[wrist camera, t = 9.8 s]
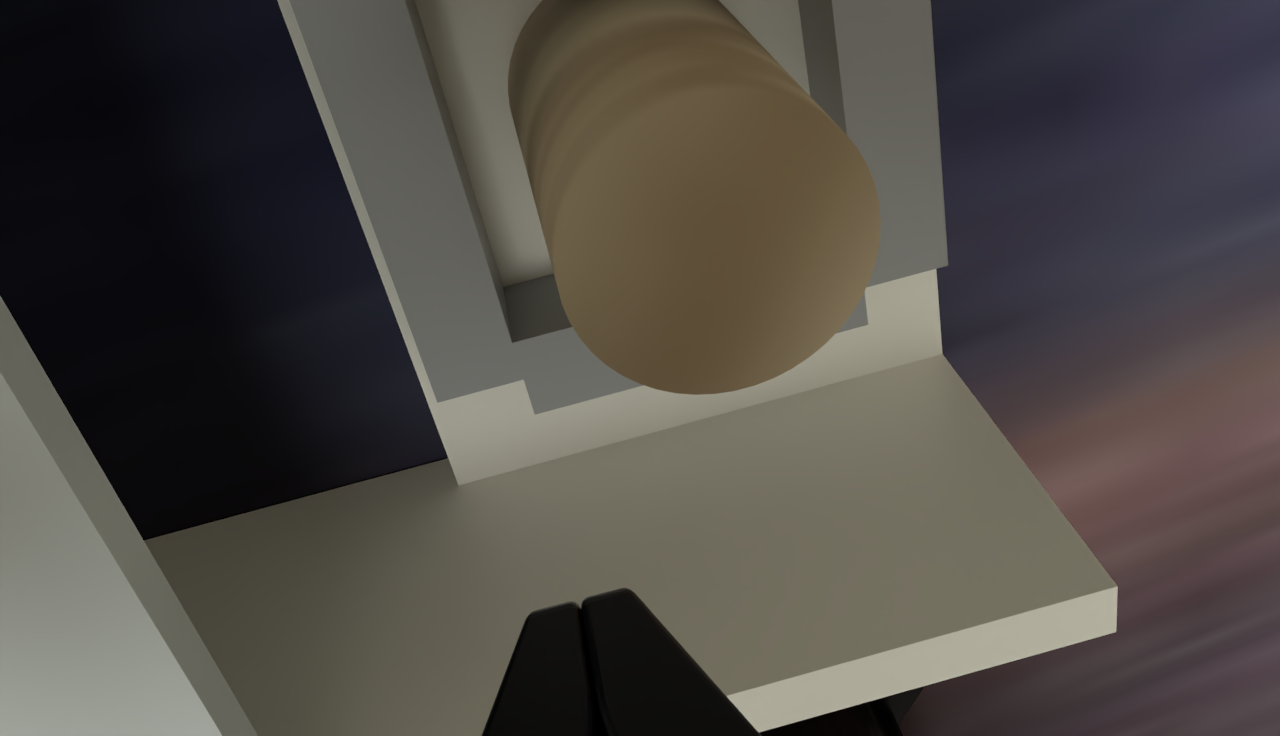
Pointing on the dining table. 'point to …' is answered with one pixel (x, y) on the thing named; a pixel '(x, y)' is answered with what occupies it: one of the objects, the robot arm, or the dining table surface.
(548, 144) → the jaw peg
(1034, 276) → the dining table surface
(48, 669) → the lid
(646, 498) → the housing
